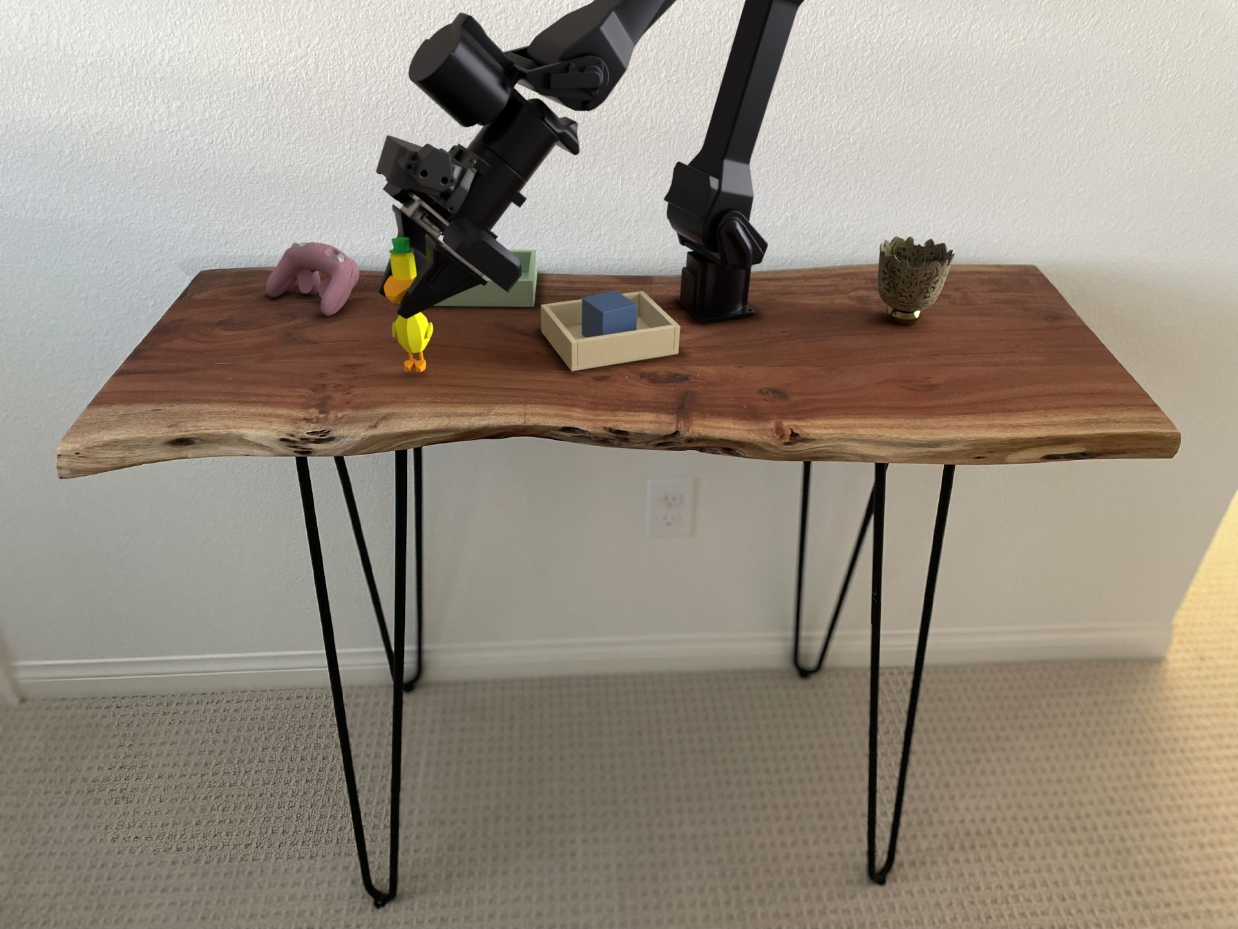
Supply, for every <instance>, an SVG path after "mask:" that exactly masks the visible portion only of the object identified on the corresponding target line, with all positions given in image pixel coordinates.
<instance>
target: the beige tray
mask: <svg viewBox="0 0 1238 929" xmlns="http://www.w3.org/2000/svg"><path fill="white" fill-rule="evenodd" d="M621 294H622V295H624V296H625V297H627V298H628V299H630V300H631V301H633V302H634V303H636V304H637V327H636V330H635V331H628V332H621V333H615V334H608V335H602V336H595V337H588V338H586V337H584V336H583V335H582V298H581V299H574V300H567V301H566V300H565V301H559V302H552V303H544V304H541V305H540V323H541V324H540V326H541V328H540V329H541V331H540V332H541V333H542V335H543V336H544V337H545V338H546V339H547V341H548V342H549V344H550V345H551V347H553V349H554V350H555V351H556V353H557V354H558V355H559V357H560V358H561V359H562V360H563V362H564V363H565V365H566V366H567V368H568V369H569V370H570V371H571V372H576V371H581V370H588V369H594V368H601V367H606V366H607V367H608V366H613V365H617V364H624V363H630V362H631V363H632V362H636V361H643V360H649V359H655V358H656V359H657V358H661V357H669V356H673V355H678V354H679V348H680V347H679V346H680V334H681V333H680V332H681V326H680V325H679V324H678V323H677V322H676V321H675V320H674V319H673V318H672V317H671V316H670V315H669V314H668V313H667V312H666V311H665V310H663V309H662V308H661V306H660V305H658V303H656V302H655V301H654V300H653V299H652V298H651V297H650V296H649V295H648V294H647V293H646V292H645V291H643V290H640V291H632V292H625V293H621Z"/></svg>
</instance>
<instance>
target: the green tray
mask: <svg viewBox="0 0 1238 929" xmlns="http://www.w3.org/2000/svg"><path fill="white" fill-rule="evenodd" d="M508 250H509V251H510V252H511V253H513V254H514V255H515V256H516V257H517V258H519V259H520V260H521V269H522V276H521V277H520V278H519V280H518V281H517V282H516V283H515V285H514V286H513V287H512V289H511V290H510V291H509V293H508V292H506V291H505V290H504V289H502V288H501V287H500V286H498V285H497V284H496V283H494V282H493V281H492V280H490V279H489V278H488V277H487V276H485V275H483V278H484V279H485V280H487V281H488V283H487V284H486V285H485V286H483V285H481V284H480V285H477V286H475V287H473V288H470V289H468V290H466V291H463V292H461V293H459V294H456V295H454V296H452V297H450V298H448V299H446V300H444V301H442V302H440V303H438V304H436V305H434V306H433V307H490V308H491V307H492V308H493V307H494V308H496V307H498V308H499V307H501V308H502V307H503V308H504V307H507V308H509V307H510V308H511V307H512V308H534V307H535V300H536V290H537V279H538V254H537V253H538V252H537V249H508Z"/></svg>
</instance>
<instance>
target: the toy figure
mask: <svg viewBox="0 0 1238 929" xmlns="http://www.w3.org/2000/svg"><path fill="white" fill-rule="evenodd" d="M391 243H392V249H389V250H388V253H389V259H390V261H391V268H392V274H393V276H390V277H389V278H388V279H387V281H386V283H385V285H384V291H385V295H386V297H387V298H386V299H387V300H389V302H390V303H392V304H400V303H401V301H402V299H403V297H404V295H405V294H406V292H407V290H408V289H409V287H410V285H411V284H412V282H413V280H414V279H415V277H416V275H417V274H416V266H415V259H414V254H413V252H414V249H412V248H409V238H406V237H397V236H396V237H393V238H391ZM393 248H394V249H393ZM433 325H434V324H433V322H428V319H427V316H425V315H424V314H423V313H422V312H420V313H418V314H416V315H414V316H412V317H410V318H408V319H405V318H403V317H401V316H400V315H399V314H398V316H397V318H396V320H395V321H394V322H393V321H392V332H391V333H392V338H397V342H398V344H399V345H400V346H401V347H402V348H403V349H404V351H406V352H407V354H408V359H407V360H405V361H403V365H404V366H403V367H404V372H406V373H410V372H412V371H413V370H415V372H416V373H422V372H423V371H425V370H426V368H427V361H426V360H425V359H424V352H423V351H424V350H425V349H426V347H427V345H428V344H429V342H430V340H431V337H432V335H433V333H434V326H433ZM417 353H418V360H416V359H415V358H414V355H413V354H417Z"/></svg>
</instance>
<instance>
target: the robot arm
mask: <svg viewBox="0 0 1238 929" xmlns="http://www.w3.org/2000/svg"><path fill="white" fill-rule="evenodd" d="M677 1H678V0H593V1H591V2H589V3H588V4H586V5H583V6H581V7H579V8H577V9H575V10H573V11H570V12H568V13H566V14H564V15H562V16H561V17H560V18H559V19H557V20H556V21H555V22H552V24H550V25H549V26H547V27H546V28H544V30H542V31H541V32H539V33H538V34H537V35H536V36H534V38H533V39H532V41H531V42H530V43H529V45H525V46H521V47H517V48H515V49H509V50H506V51H505V50H504V51H503V50H502V49H501V48H500V46H498V45H497V44H496V43H495V42H494V40H492V38H490V37H489V35H488V34H487V33H486V31H485V29H484V27H483V26H482V24H480V23H479V22H478V20H476V19H475V17H474V16H472V15H471V14H468V13H466V12H459V13H458V14H457V15H456V16H455V18H454V20H453V21H452V22H450V23H448V24H446V25H444V26H443V27H441V28H439V29H438V30H437V31H436V32H435V33H433V34H432V35H431V36H430V37H429V38H426V39H424V40H423V41H422V43H421V44H420V45H419V47H418V48H417V50H416V51H415V53H414V55H413V57H412V59H411V61H410V64H409V66H408V71H407V74H408V79H409V80H410V81H411V82H412V83H413V84H414V86H416V87H417V88H418V89H419V90H421V91H422V93H424V94H425V95H426V96H427V97H428V98H429V99H431V100H432V102H434V103H435V104H436V105H437V106H438V107H440V108H441V109H442V110H443V111H444V112H445V113H446V114H447V115H448V116H450V118H452V119H453V120H454V121H455V122H456V123H457V124H458V125H459V126H461V128H471V127H474V126H476V125H478V126H480V127H481V128H480V130H479V131H478V132H477V134H476V135H475V136H474V138H473V139H472V141H470V143H469V144H468V146H467V147H465V146H464V145H462V144H461V143H458V144H454V145H452V146H451V147H450V148H449V150H448V151H447V150H445V149H444V148H442V147H440V148H438V147H435V146H433V145H432V144H430V143H425V144H424V145H423V146H422V145H419V144H416V143H413V142H411V141H407V140H405V139H402V138H399V137H396V136H393V135H389V134H386V136H385V140H384V143H383V147H382V149H381V153H380V156H379V159H378V163H377V166H376V169H375V173H376V174H377V175H382V176H383V177H385V181H386V184H385V185H384V187H383V188H382V190H383V191H384V192H385V193H386V194H387V195H389V196H390V198H392V199H393V200H394V201H397V202H398V203H400V204H401V207H398V206H397V205H395V204H394V203H392V205H391V210H392V212H393V214H394V216H395V217H394V218H395V222H396V228H397V234H396V238H397V237H406V238H409V248H412V249H414V252H413V254H414V259H415V266H416V274H417V275H416V277H415V279H414V280H413V282H412V284H411V285H410V287H409V289H408V290H407V292H406V294H405V295H404V297H403V299H402V301H401V303H399V305H398V307H397V308H396V314H397V315H398V316H399V315H400V316H401V317H403V318H405V319H408V318H410V317H412V316H414V315H416V314H418V313H420V312H421V313H422V312H424V311H427V310H428V309H430V308H432V307H435V306H434V305H436V304H438V303H440V302H442V301H444V300H446V299H448V298H450V297H452V296H454V295H456V294H459V293H461V292H463V291H466V290H468V289H470V288H473V287H475V286H477V285H480V284H481V285H483V286H485V285H486V284H487V283H488V281H487V280H485V279H484V278H483V275H485V276H487V277H488V278H489V279H490V280H492V281H493V282H494V283H496V284H497V285H498V286H500V287H501V288H502V289H504V290H505V291H506V292H508V293H509V291H510V290H511V289H512V287H513V286H514V285H515V283H516V282H517V281H518V280H519V278H520V277H521V276H522V269H521V260H520V259H519V258H517V257H516V256H515V255H514V254H513V253H511V252H510V251H509V250H510V249H508V248H506V247H505V246H504V245H503V244H502V243H500V242H499V241H498V240H497V239H498V238H499V236H498V235H497V234H496V233H495V232H493V231H492V230H493V229H494V227H495V226H496V224H497V223H498V221H499V220H500V219H501V218H502V217H503V215H504V214H505V213H506V211H507V210H508V209H509V207H510V206H511V205H512V204H514V205H515V206H516V207H517V208H520V209H521V207H522V206H523V205H524V203H525V202H526V201H527V199H528V198H527V197H526V196H525V195H523V193H521V191H522V190H523V189H524V187H525V186H526V185H527V183H528V182H529V181H530V180H531V178H532V177H533V176H534V174H535V173H536V172H537V170H539V167H540V166H541V165H542V164H543V162H545V160H546V159H547V157H548V156H549V155H550V153H551V152H552V151H553V149H554V148H555V146H556V147H558V148H561V150H564V151H566V152H568V154H569V153H570V154H571V155H573V156H578V155H579V154H580V152H581V148H580V141H579V136H578V128H579V123H578V121H576V120H574V119H573V118H572V119H571V118H570V117H567V116H561V117H559V115H557V114H556V113H555V112H554V111H553V110H552V108H550V107H549V105H547V103H546V102H545V101H543V100H542V99H541V98H538V97H533V98H528V99H527V98H525V96H524V95H522V94H521V93H520V92H519V91H518V90H517V89H516V85H519V86H521V87H522V88H525V89H528V90H530V91H533V92H535V93H537V94H538V95H539V96H540V97H543V98H545V99H548V100H549V101H552V102H554V103H556V104H558V105H561V106H563V107H565V108H568V109H571V110H573V111H574V112H591V111H595V110H596V109H597V108H599V107H600V106H602V104H604V103H605V101H606V100H607V99H608V97H609V96H610V95H611V94H612V92H613V91H614V89H615V88H616V87H617V85H618V83H619V82H620V80H621V79H622V78H623V76H624V75H625V74H626V72H627V70H628V68H629V65H630V62H631V58H632V55H633V52H634V49H635V47H636V46H637V44H638V43H639V41H640V40H642V37H643V36H644V35H645V34H646V33H647V32H648V31H649V30H650V29H651V28H652V27H653V25H654V24H656V23H657V21H659V19H660V18H661V17H662V16H663V15H665V13H666V12H667V11H668V10H669V9H670V8H671V7H672V6H673V5H674V4H675V3H676V2H677ZM805 1H806V0H744V4H743V6H742V11H741V13H740V17H739V20H738V24H737V28H736V31H735V35H734V37H733V41H732V45H731V47H730V51H729V54H728V58H727V62H726V65H725V68H724V72H723V75H722V79H721V82H720V85H719V90H718V93H717V96H716V100H715V102H714V106H713V109H712V114H711V117H710V120H709V124H708V127H707V130H706V133H705V137H704V140H703V144H702V146H701V148H700V151H699V152H698V153H697V154H696V155H695V156H694V157H693V158H692V159H691V161H689V163H688V164H686V163H684V162H681V161H677V162H675V165H674V167H673V171H672V175H671V176H672V177H671V183H670V186H669V189H668V191H667V193H666V194H665V196H664V197H663V201H664V202H666V203H667V208H666V219H667V220H668V222H669V224H670V226H671V228H672V229H673V230H674V231H675V232H676V236H677V239H678V243H679V245H680V246H682V247H686V248H687V249H689V251H686V258H685V259H686V261H685V266H683V267H682V268H681V276H680V291H679V295H677V297H676V302H677V303H678V304H680V306H681V307H683V308H684V309H685V310H686V311H687V312H688V313H690V314H691V316H693V317H694V318H695V319H696V320H697V321H698V322H699V323H704V324H705V323H706V324H707V323H711V322H712V323H713V322H718V321H726V320H732V319H738V318H739V319H740V318H745V317H752V316H754V315H755V312H756V311H755V309H753V307H751V306H750V305H749V303H748V302H749V292H750V285H751V284H750V282H751V277H752V276H751V274H752V267H753V266H755V265H760V264H762V262H763V261H764V258H765V254H766V252H767V250H768V247H769V243H768V242H767V240H766V239H765V238H764V237H763V236H762V235H761V233H760V232H758V230H757V229H756V227H754V226H753V224H752V223H751V221H750V219H751V215H752V210H753V209H752V208H753V203H754V198H755V192H754V187H753V180H752V171H751V161H752V156H753V154H754V150H755V147H756V144H757V141H758V137H759V135H760V131H761V129H762V124H763V122H764V118H765V114H766V113H767V109H768V105H769V103H770V99H771V97H772V92H773V89H774V86H775V83H776V80H777V77H778V74H779V71H780V68H781V64H782V61H783V59H784V58H783V57H784V54H785V51H786V48H787V44H788V42H789V39H790V35H791V32H792V30H793V26H794V23H795V20H796V16H797V14H798V11H799V9H800V7H801V5H802V4H803V3H804V2H805ZM440 236H441V237H442V240H441V239H439V238H440ZM392 249H394V248H393V247H392ZM390 276H393V274H392V268H391V261H390V258H389V259H388V262H387V265H386V267H385V270H384V273H383V275H382V278H381V281H380V285H379V287H378V289H377V290H378V293H379V295H381V296H382V297H384V298H385V299H388V298H387V297H386V295H385V291H384V285H385V283H386V281H387V279H388V278H389V277H390Z"/></svg>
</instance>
